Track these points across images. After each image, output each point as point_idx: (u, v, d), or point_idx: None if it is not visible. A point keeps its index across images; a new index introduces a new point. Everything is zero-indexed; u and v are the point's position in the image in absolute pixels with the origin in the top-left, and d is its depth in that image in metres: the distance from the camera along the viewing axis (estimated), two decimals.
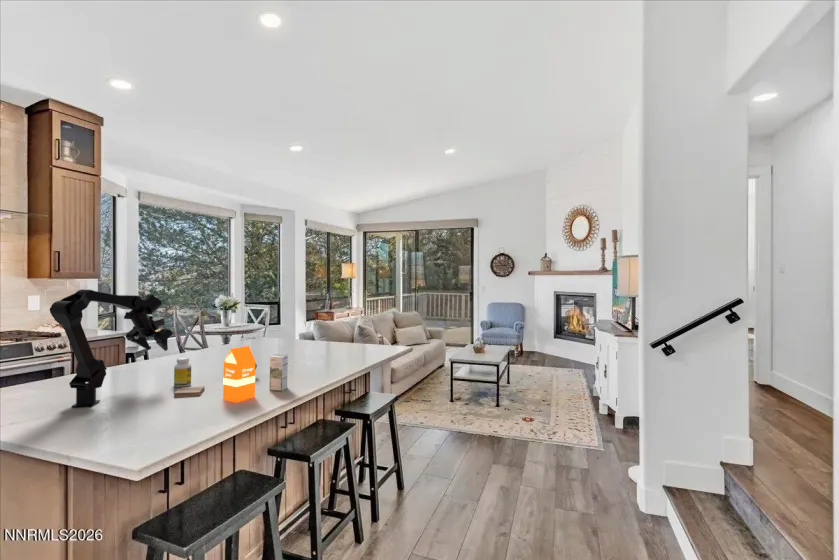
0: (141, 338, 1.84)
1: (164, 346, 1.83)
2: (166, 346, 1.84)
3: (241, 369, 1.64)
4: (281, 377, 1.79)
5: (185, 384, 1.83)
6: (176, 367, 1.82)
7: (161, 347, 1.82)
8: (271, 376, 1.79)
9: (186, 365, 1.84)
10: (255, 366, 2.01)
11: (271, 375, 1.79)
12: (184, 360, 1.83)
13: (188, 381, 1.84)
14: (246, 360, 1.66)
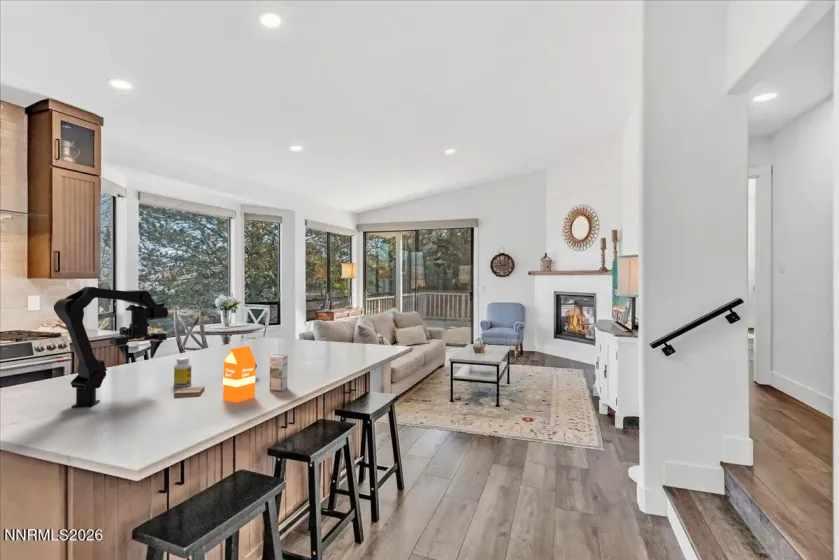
0: None
1: None
2: None
3: (241, 369, 1.64)
4: (281, 377, 1.79)
5: (185, 384, 1.83)
6: (176, 367, 1.82)
7: (154, 351, 1.77)
8: (271, 376, 1.79)
9: (186, 365, 1.84)
10: (255, 366, 2.01)
11: (271, 375, 1.79)
12: (184, 360, 1.83)
13: (188, 381, 1.84)
14: (246, 360, 1.66)
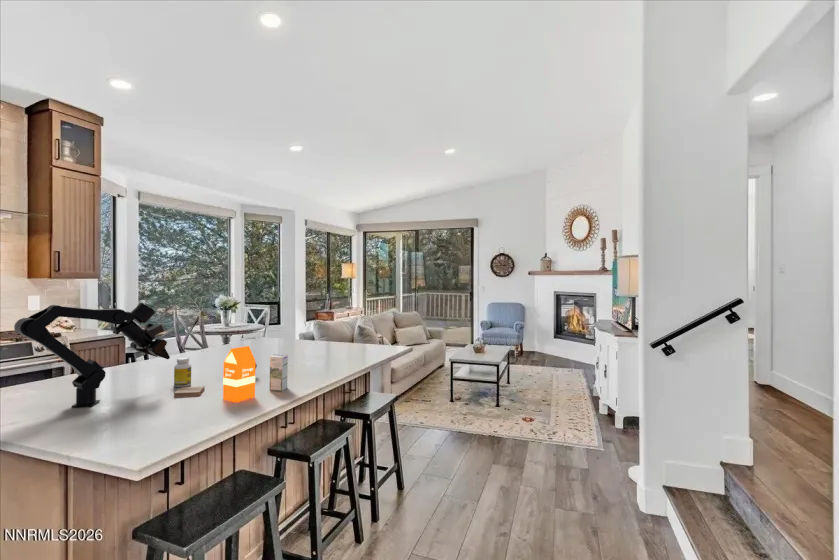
0: (145, 346, 1.77)
1: (163, 355, 1.73)
2: (166, 355, 1.74)
3: (241, 369, 1.64)
4: (281, 377, 1.79)
5: (185, 384, 1.83)
6: (176, 367, 1.82)
7: None
8: (271, 376, 1.79)
9: (186, 365, 1.84)
10: (255, 366, 2.02)
11: (271, 375, 1.79)
12: (184, 360, 1.83)
13: (188, 381, 1.84)
14: (246, 360, 1.66)
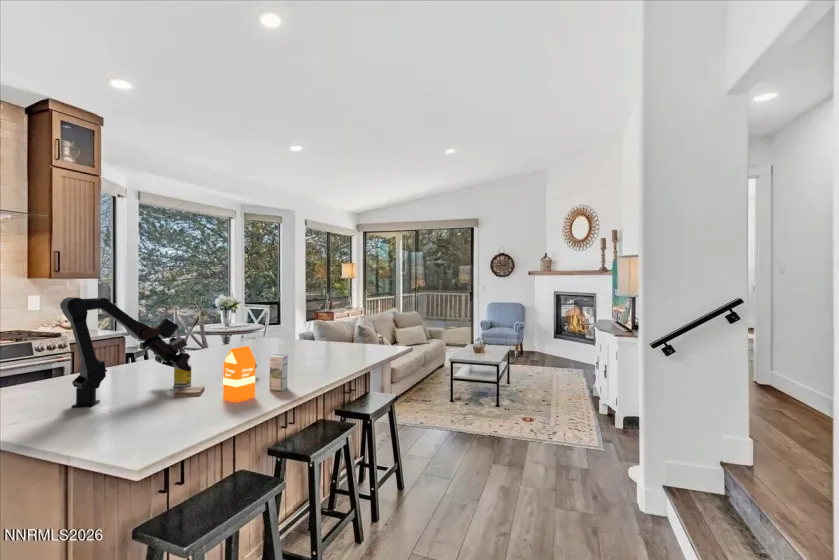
0: None
1: (185, 368, 1.82)
2: (188, 367, 1.83)
3: (241, 369, 1.64)
4: (281, 377, 1.79)
5: (185, 384, 1.83)
6: None
7: (182, 369, 1.81)
8: (271, 376, 1.79)
9: None
10: (255, 366, 2.02)
11: (271, 375, 1.79)
12: None
13: (188, 381, 1.84)
14: (246, 360, 1.66)
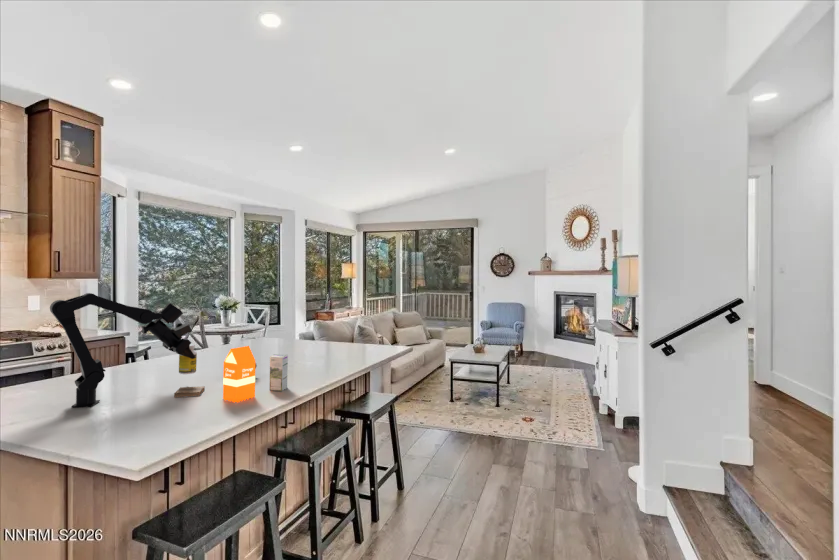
0: None
1: (188, 355, 1.76)
2: (191, 354, 1.77)
3: (241, 369, 1.64)
4: (281, 377, 1.79)
5: (188, 372, 1.78)
6: None
7: None
8: (271, 376, 1.79)
9: None
10: (255, 366, 2.02)
11: (271, 375, 1.79)
12: None
13: (192, 369, 1.79)
14: (246, 360, 1.66)
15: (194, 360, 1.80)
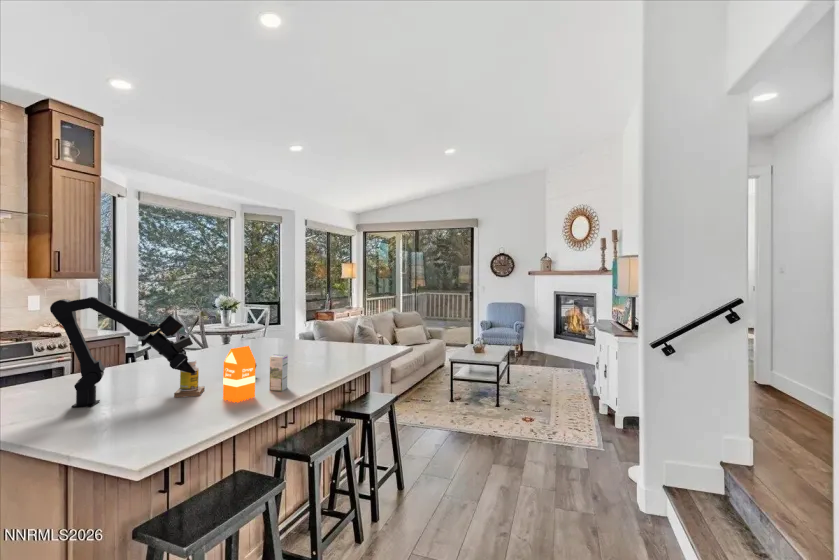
0: None
1: (187, 370, 1.68)
2: (191, 369, 1.69)
3: (241, 369, 1.64)
4: (281, 377, 1.79)
5: (188, 389, 1.70)
6: None
7: None
8: (271, 376, 1.79)
9: None
10: (255, 365, 2.02)
11: (271, 375, 1.79)
12: None
13: (192, 386, 1.71)
14: (246, 360, 1.66)
15: (194, 377, 1.72)
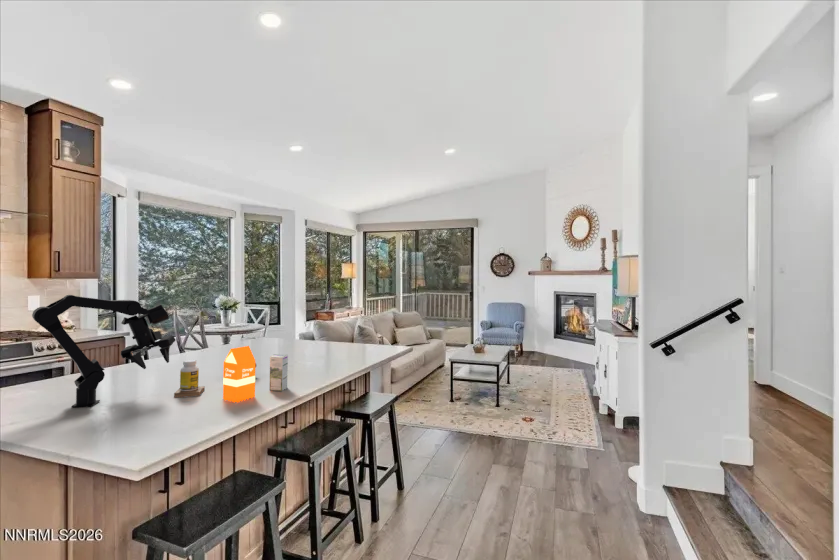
0: (137, 355, 1.70)
1: (167, 356, 1.71)
2: (168, 357, 1.72)
3: (241, 369, 1.64)
4: (281, 377, 1.79)
5: (188, 389, 1.70)
6: (181, 370, 1.71)
7: (164, 357, 1.70)
8: (271, 376, 1.79)
9: (190, 368, 1.71)
10: (255, 365, 2.03)
11: (271, 375, 1.79)
12: (188, 363, 1.71)
13: (192, 386, 1.71)
14: (246, 360, 1.66)
15: (194, 377, 1.72)
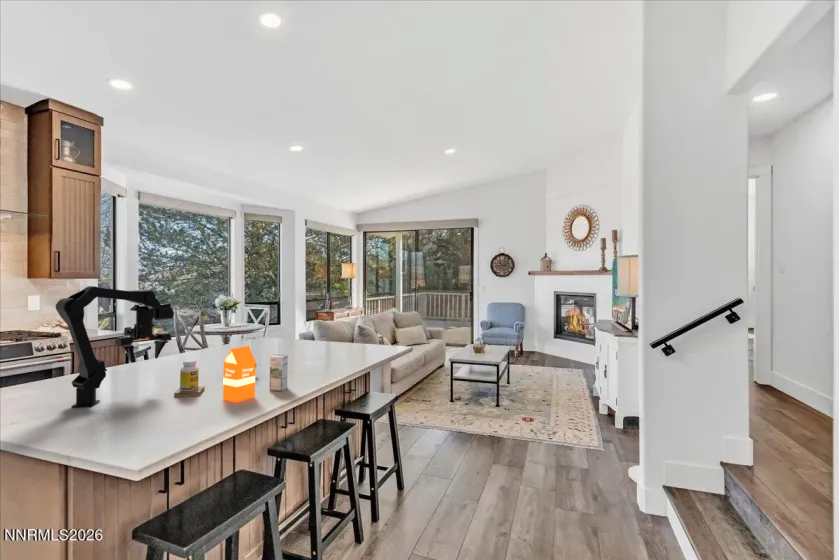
0: None
1: None
2: None
3: (241, 369, 1.64)
4: (281, 377, 1.79)
5: (188, 389, 1.70)
6: (181, 370, 1.71)
7: (158, 351, 1.76)
8: (271, 376, 1.79)
9: (190, 368, 1.71)
10: (255, 365, 2.03)
11: (271, 375, 1.79)
12: (188, 363, 1.71)
13: (192, 386, 1.71)
14: (246, 360, 1.66)
15: (194, 377, 1.72)
